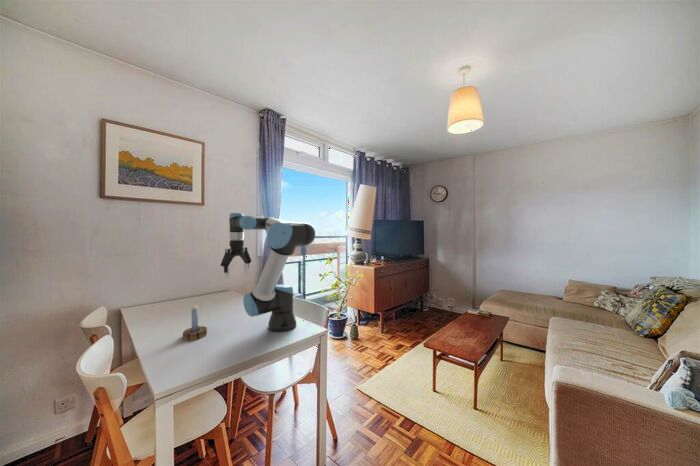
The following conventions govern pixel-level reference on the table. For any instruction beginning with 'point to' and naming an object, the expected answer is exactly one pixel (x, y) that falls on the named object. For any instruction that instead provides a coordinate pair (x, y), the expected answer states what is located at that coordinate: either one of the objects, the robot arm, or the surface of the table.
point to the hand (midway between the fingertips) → (237, 276)
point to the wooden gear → (194, 333)
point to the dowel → (194, 319)
